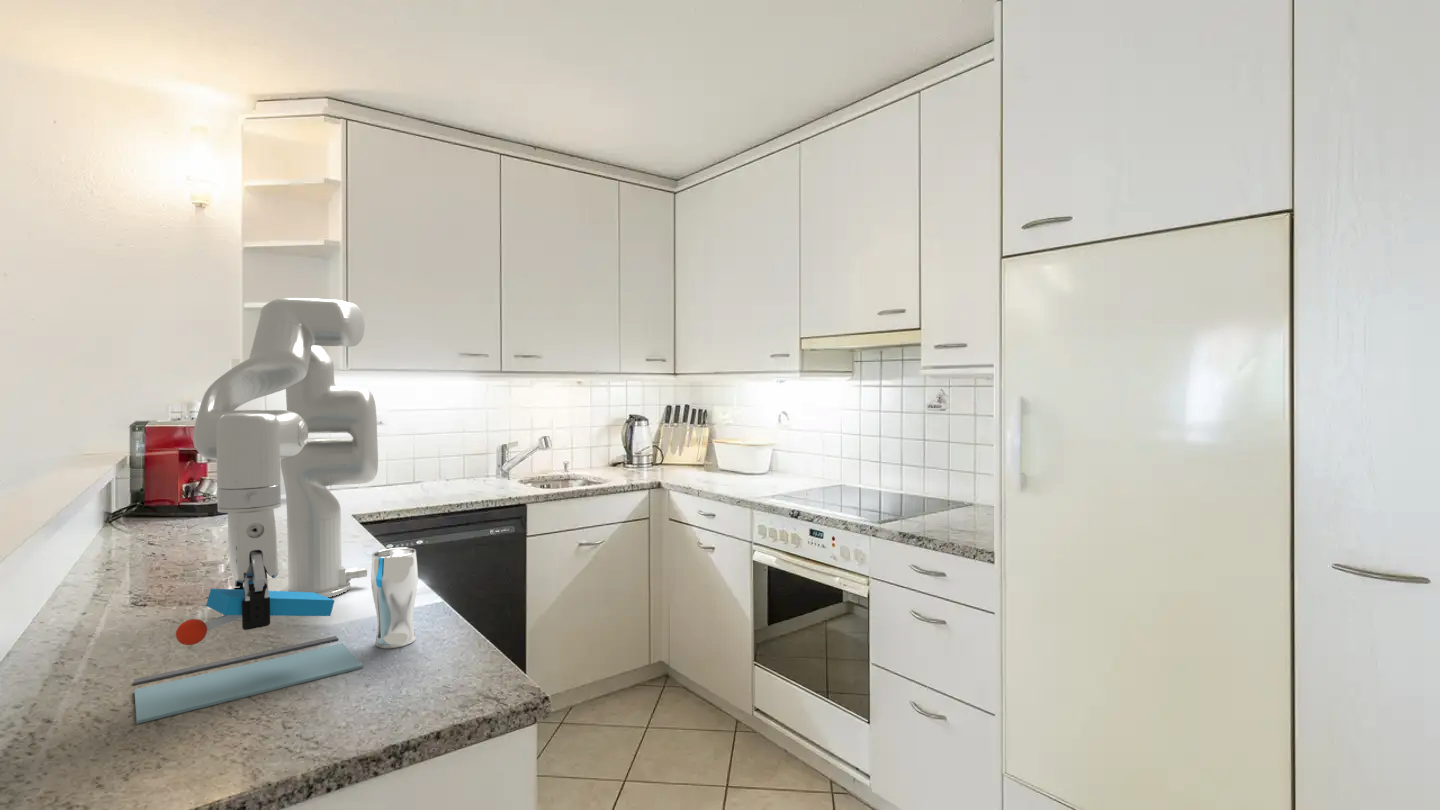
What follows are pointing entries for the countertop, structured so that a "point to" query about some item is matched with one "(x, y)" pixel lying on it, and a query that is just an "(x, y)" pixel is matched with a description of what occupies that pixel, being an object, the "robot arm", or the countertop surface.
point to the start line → (232, 660)
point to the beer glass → (394, 595)
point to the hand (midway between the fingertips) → (251, 619)
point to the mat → (241, 682)
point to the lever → (231, 608)
